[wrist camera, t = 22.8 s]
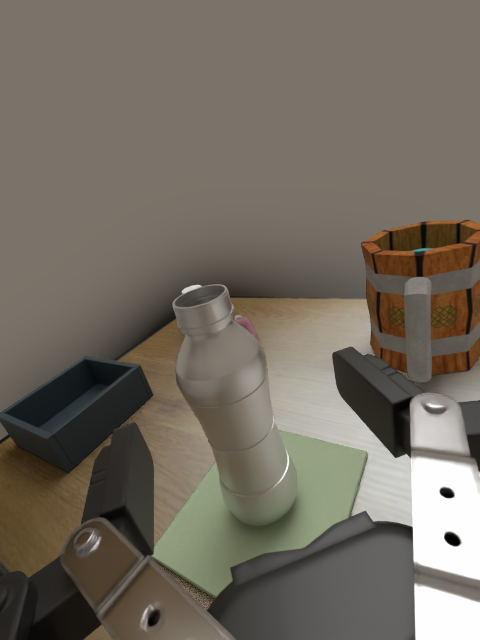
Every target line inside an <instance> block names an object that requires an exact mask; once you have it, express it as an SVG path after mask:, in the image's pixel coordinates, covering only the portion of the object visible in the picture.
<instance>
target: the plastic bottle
mask: <svg viewBox="0 0 480 640" xmlns="http://www.w3.org/2000/svg"><path fill="white" fill-rule="evenodd" d="M173 309H174V312H175V315H176V318H177V326H178V329H179V332H180V333H182V334H184V335H185V338H184V341H183V343H182V346H181V349H180V351H179V355H178V359H177V362H176V381H177V385H178V387H179V389H180V391H181V393H182V395H183V396H184V398H185V399H186V401H187V403H188V404H189V406H190V407H191V409H192V411H193V412H194V414H195V415H196V417H197V419H198V420H199V422H200V424H201V426H202V428H203V430H204V432H205V435H206V437H207V438H208V441H209V443H210V445H211V447H212V450H213V453H214V457H215V460H216V464H217V468H218V471H219V482H220V487H221V492H222V496H223V500H224V502H225V504H226V506H227V507H228V508H229V510H230V511H231V512H232V514H233V515H234V516H235V517H236V518H237V519H238V520H239V521H241V522H242V523H245V524H248V525H252V526H265V525H269V524H272V523H274V522H276V521H278V520H279V519H281V518H282V517H283V516H284V515H285V514H286V513H287V512H288V511H289V510H290V508H291V507H292V505H293V504H294V501H295V499H296V495H297V472H296V469H295V466H294V464H293V461H292V459H291V457H290V455H289V453H288V452H287V450H286V448H285V447H284V444H283V442H282V439H281V436H280V434H279V431H278V429H277V426H276V423H275V418H274V414H273V409H272V404H271V399H270V390H269V379H268V368H267V360H266V354H265V351H264V349H263V347H262V346H261V344H260V343H259V341H258V340H257V339H256V337H255V336H253V335H252V334H251V333H250V332H249V331H248V330H246V329H245V328H244V327H242V326H241V325H239V324H238V323H236V322H235V321H234V320H233V318H234V316H235V309H234V306H233V305H232V304H231V300H230V296H229V293H228V290H227V287H226V286H224V285H217V284H216V285H207V286H203V287H199V288H196V289H193V290H190V291H188V292H186V293H184V294H182V295H180V296H179V297H178V298H176V299H175V300H174V302H173Z"/></svg>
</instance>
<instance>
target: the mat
mask: <svg viewBox="0 0 480 640" xmlns="http://www.w3.org/2000/svg"><path fill="white" fill-rule="evenodd" d="M278 431H279V434H280V436H281V439H282V442H283V444H284V447H285V448H286V450H287V452H288V453H289V455H290V457H291V459H292V461H293V464H294V466H295V469H296V472H297V495H296V499H295V501H294V504H293V505H292V507H291V508H290V510H289V511H288V512H287V513H286V514H285V515H284V516H283V517H282V518H281V519H279V520H278V521H276V522H274V523H272V524H269V525H265V526H252V525H248V524H245V523H242V522H241V521H239V520H238V519H237V518H236V517H235V516H234V515H233V514H232V512H231V511H230V510H229V508H228V507H227V506H226V504H225V502H224V500H223V496H222V492H221V487H220V482H219V471H218V468H217V464H216V461H215V463H214V464H213V466H212V467H211V468H210V470H209V471H208V473H207V474H206V475H205V477H204V478H203V480H202V481H201V482H200V484H199V485H198V487H197V488H196V489H195V491H194V492H193V494H192V495H191V496H190V498H189V499H188V501H187V502H186V503H185V505H184V506H183V508H182V509H181V510H180V512H179V513H178V515H177V516H176V517H175V519H174V520H173V522H172V523H171V524H170V526H169V527H168V529H167V530H166V531H165V533H164V534H163V536H162V537H161V538H160V540H159V541H158V543H157V544H156V545H155V547H154V554H153V555H151V558H153V559H154V560H155V561H157V562H158V563H160V564H161V565H163V566H165V567H166V568H168V569H169V570H171V571H172V572H174V573H176V574H177V575H179V576H180V577H182V578H183V579H185V580H186V581H188V582H190V583H191V584H193V585H194V586H196V587H197V588H199V589H201V590H202V591H204V592H205V593H207V594H208V595H210V596H212V597H213V598H216V597H217V596H218V594H219V593H220V592H221V591H222V590H223V589H224V588H225V587H226V586H227V585H228V584H229V583H231V582H232V581H233V580H232V575H231V570H230V567H233V566H235V565H237V564H240V563H242V562H245V561H247V560H249V559H252V558H254V557H257V556H259V555H261V554H264V553H270V552H278V551H286V550H294V549H301V548H304V547H306V546H307V545H308V544H310V543H311V542H312V541H313V540H315V539H316V538H317V537H318V536H320V535H321V534H322V533H323V532H325V531H326V530H327V529H328V528H330V527H331V526H332V525H333V524H335V523H338V522H340V521H342V520H345V519H347V518H349V517H350V514H351V511H352V507H353V504H354V500H355V497H356V494H357V490H358V487H359V483H360V480H361V477H362V473H363V470H364V467H365V463H366V460H367V456H368V454H367V451H363V450H359V449H355V448H350V447H346V446H342V445H338V444H334V443H330V442H326V441H322V440H318V439H314V438H310V437H305V436H301V435H297V434H293V433H289V432H285V431H281V430H278Z"/></svg>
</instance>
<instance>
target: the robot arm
mask: <svg viewBox="0 0 480 640" xmlns="http://www.w3.org/2000/svg"><path fill="white" fill-rule="evenodd" d="M332 358H333V365H334V372H335V379H336V385H337V388H338V391H339V393H340V395H341V397H342V398H343V399H344V400H345V402H346V403H347V404H348V405H349V406H350V407H351V408H352V409H353V411H354V412H355V413H356V414H357V415H358V416H359V417H360V418H361V420H362V421H363V422H364V423H365V424H366V425H367V426H368V427H369V429H370V430H371V431H372V432H373V433H374V434H375V435H376V437H377V438H378V439H379V440H380V441H381V442H382V443H383V444H384V446H385V447H386V448H387V449H388V450H389V451H390V452H391V453H392V455H393V456H394V457H395V458H397V457H400V456H402V455H405V454H407V455H408V456H409V457H410V458H411V472H412V511H413V527H410V526H407V525H404V524H400V523H396V522H388V521H376V522H373V521H372V520H371V518H370V517H369V515H368V514H367V512H366V511H364V512H362V513H359V514H357V515H354V516H352V517H350V518H347V519H345V520H342V521H340V522H338V523H335V524H333V525H332V526H331V527H330V528H328V529H327V530H326V531H325V532H323V533H322V534H321V535H320V536H318V537H317V538H316V539H315V540H313V541H312V542H311V543H310V544H308V545H307V546H306V547H304V548H301V549H294V550H286V551H278V552H270V553H264V554H261V555H259V556H257V557H254V558H252V559H249V560H247V561H245V562H242V563H240V564H237V565H235V566H233V567H230V570H231V575H232V580H233V581H232V582H231V583H229V584H228V585H227V586H226V587H225V588H224V589H223V590H222V591H221V592H220V593H219V594H218V596H217V597H216V598H215V599H214V601H213V602H212V603H211V605H210V607H209V608H208V610H207V611H206V610H205V609H204V608H203V607H202V606H201V605H200V604H199V603H198V602H197V601H196V600H195V599H194V598H193V597H192V596H191V595H190V594H189V593H188V592H187V591H186V590H185V589H184V588H183V587H182V586H181V585H180V584H178V583H177V582H176V581H175V580H174V579H173V578H172V577H171V576H170V575H169V574H168V573H167V572H166V571H165V570H164V569H163V568H162V567H161V566H160V565H159V564H158V563H157V562H156V561H155V560H154V559H153V558H151V557H150V556H151V555H153V554H154V465H153V460H152V456H151V453H150V451H149V448H148V446H147V444H146V442H145V440H144V438H143V436H142V434H141V432H140V430H139V428H138V426H137V424H136V423H135V422H133V423H130V424H127V425H124V426H122V427H119V428H116V429H114V430H113V435H112V441H111V445H109V446H107V447H104V448H102V450H101V452H100V453H99V455H98V456H97V458H96V459H95V462H94V466H93V471H92V476H91V480H90V486H89V489H88V494H87V499H86V503H85V508H84V512H83V517H82V522H81V525H80V526H79V527H78V528H76V529H75V530H74V531H73V532H72V533H71V535H70V536H69V537H68V538H67V540H66V542H65V543H64V545H63V548H62V550H61V554H60V556H59V557H58V558H57V559H55V560H54V561H53V562H51V563H50V564H48V565H47V566H45V567H44V568H43V569H41V570H40V571H38V572H37V573H35V574H34V575H32V576H31V577H29V578H28V577H27V576H26V575H25V574H24V573H23V572H20V571H15V572H11V573H8V574H6V575H4V576H2V577H0V640H83V639H84V638H86V637H87V636H88V635H89V634H90V633H92V632H93V631H94V630H95V629H97V628H98V627H99V626H100V625H103V626H104V628H105V629H106V631H107V632H108V633H109V635H110V636H111V638H112V639H113V640H480V476H479V472H480V400H479V401H470V402H459V403H457V402H456V401H455V400H454V399H452V398H451V397H449V396H446V395H443V394H439V393H426V392H424V391H423V390H422V389H420V388H419V387H418V386H417V385H415V384H414V383H413V382H411V381H410V380H409V379H407V378H406V377H405V376H403V375H402V374H401V373H398V371H397V370H395V369H394V368H393V367H390V365H389V364H388V363H386V362H385V361H384V360H382V359H381V358H378V357H376V356H373V355H370V354H366V355H362V354H361V353H359V352H358V351H357V350H356V349H354V348H353V347H348V348H345V349H342V350H340V351H337V352H334V353H333V355H332Z"/></svg>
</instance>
